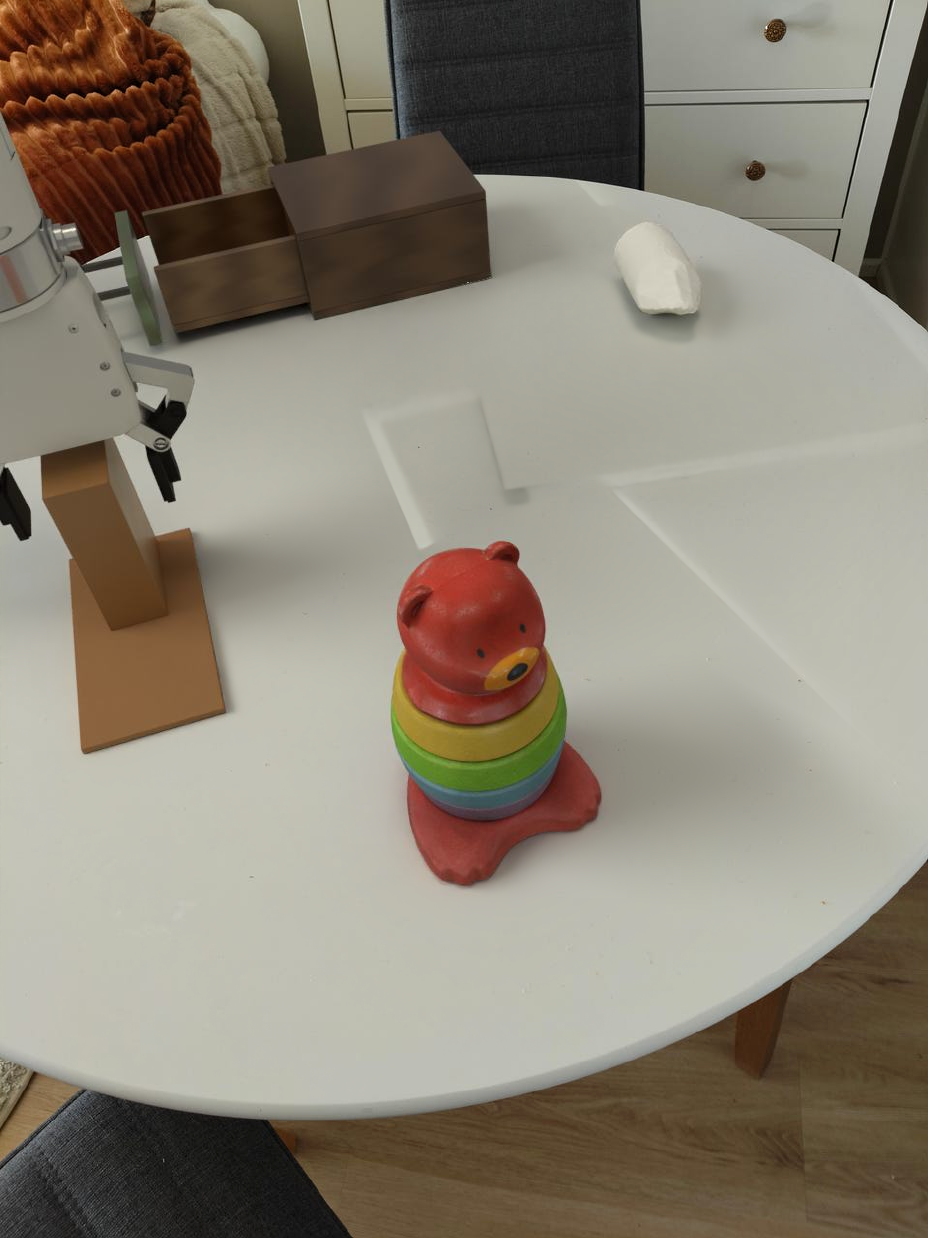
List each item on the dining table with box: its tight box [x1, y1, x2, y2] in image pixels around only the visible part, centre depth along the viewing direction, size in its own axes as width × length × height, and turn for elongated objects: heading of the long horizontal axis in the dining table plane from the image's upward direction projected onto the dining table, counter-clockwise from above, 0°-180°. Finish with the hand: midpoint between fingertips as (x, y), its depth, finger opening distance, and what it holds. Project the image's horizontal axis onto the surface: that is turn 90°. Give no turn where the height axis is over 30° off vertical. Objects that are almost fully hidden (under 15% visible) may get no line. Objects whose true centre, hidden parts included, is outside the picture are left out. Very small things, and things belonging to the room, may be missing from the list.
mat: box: [68, 527, 227, 755], centre depth 68 cm, size 18×9×1 cm, turn 18°
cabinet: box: [267, 130, 492, 321], centre depth 96 cm, size 18×15×9 cm
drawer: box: [77, 183, 310, 347], centre depth 93 cm, size 22×13×7 cm, turn 108°
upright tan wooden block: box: [39, 437, 168, 631], centre depth 66 cm, size 8×4×12 cm, turn 18°
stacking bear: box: [390, 540, 603, 886], centre depth 51 cm, size 11×10×18 cm
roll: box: [613, 221, 703, 316], centre depth 88 cm, size 6×12×6 cm, turn 8°
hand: (98, 507), depth 65 cm, fingers open, 9 cm apart
